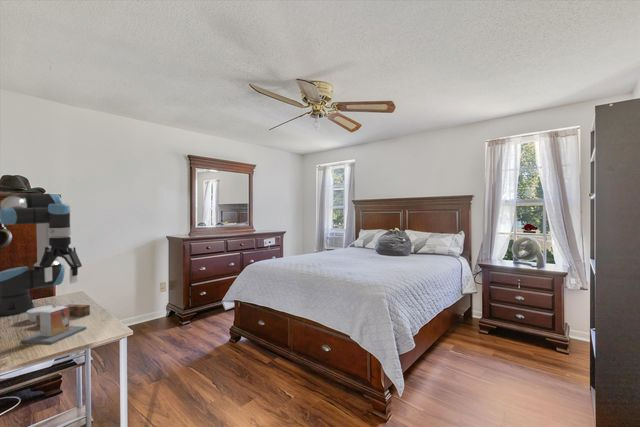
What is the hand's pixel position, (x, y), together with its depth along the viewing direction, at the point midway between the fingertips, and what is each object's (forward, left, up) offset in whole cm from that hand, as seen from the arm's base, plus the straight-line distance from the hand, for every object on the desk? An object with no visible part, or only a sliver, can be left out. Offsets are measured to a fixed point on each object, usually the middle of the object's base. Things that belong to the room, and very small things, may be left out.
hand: (60, 282), depth 135 cm
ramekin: (-21, +8, -22) cm, 32 cm away
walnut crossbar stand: (-8, +8, -21) cm, 25 cm away
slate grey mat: (+6, -8, -21) cm, 23 cm away
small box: (+6, -8, -21) cm, 23 cm away
